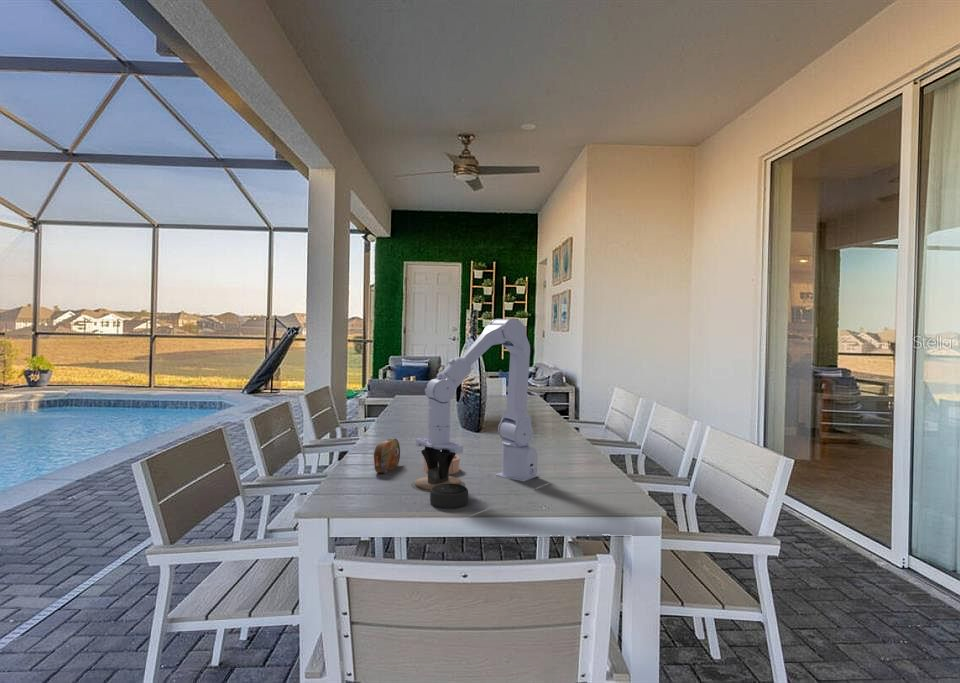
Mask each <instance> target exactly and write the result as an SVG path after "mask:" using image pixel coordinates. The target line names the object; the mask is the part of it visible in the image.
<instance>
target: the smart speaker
mask: <svg viewBox="0 0 960 683" xmlns="http://www.w3.org/2000/svg"><path fill="white" fill-rule="evenodd" d="M429 493H430V494H429V502H430V504H431V506H433V507H435V508H439V509H445V510H446V509H451V510H452V509H460V508H463V507H465V506H467V504H468V503H469V489H468V488H467V487H466V485H465V486H462V485H459V484H440V485H436V486H434V487H433V488H432V489H431V490H430V492H429Z"/></svg>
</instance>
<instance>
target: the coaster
mask: <svg viewBox="0 0 960 683" xmlns="http://www.w3.org/2000/svg"><path fill="white" fill-rule="evenodd" d="M415 481H416V480H414V481H413V482H412V483H411V484H410V486H411V488H413V489H415V490H416V491H420V492H426V493H430V491H428V490H422V489H419V488H417V487H416V486H415ZM461 485H462V486H465V487H466V483H465V482H464V481H462V480H461Z"/></svg>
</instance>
